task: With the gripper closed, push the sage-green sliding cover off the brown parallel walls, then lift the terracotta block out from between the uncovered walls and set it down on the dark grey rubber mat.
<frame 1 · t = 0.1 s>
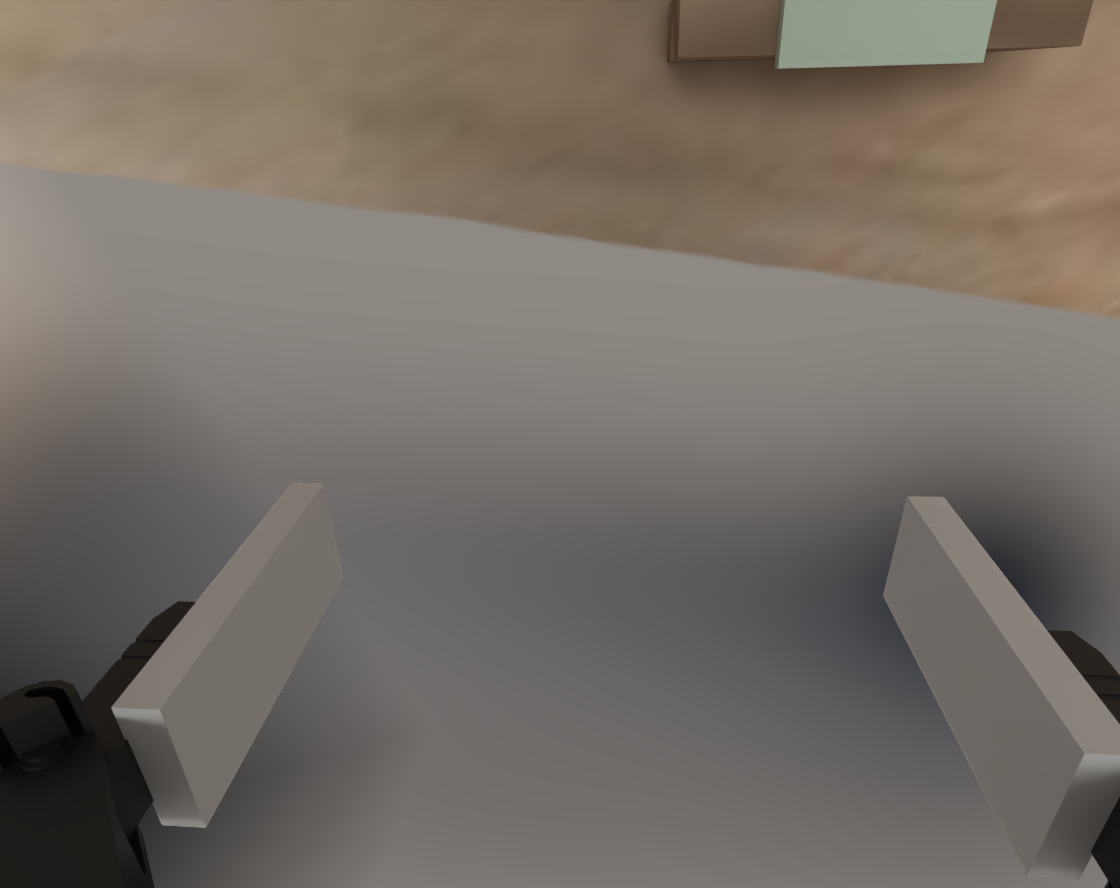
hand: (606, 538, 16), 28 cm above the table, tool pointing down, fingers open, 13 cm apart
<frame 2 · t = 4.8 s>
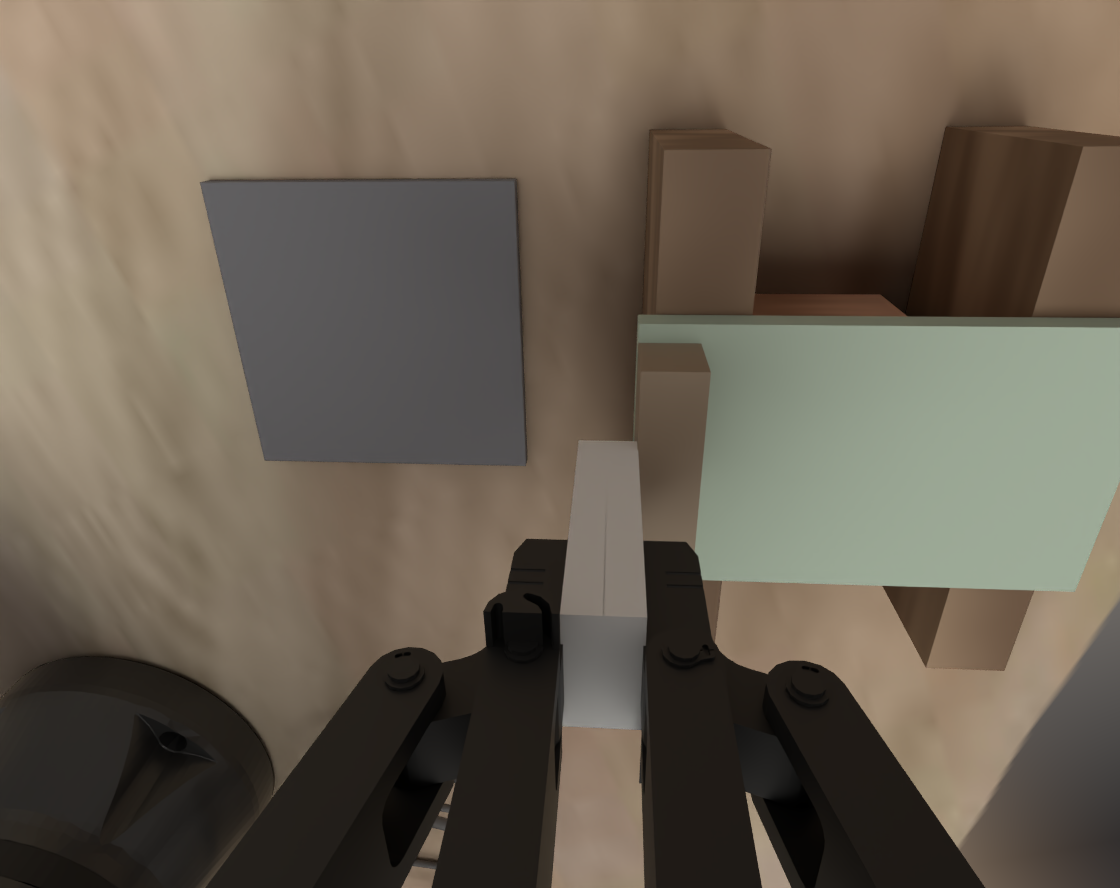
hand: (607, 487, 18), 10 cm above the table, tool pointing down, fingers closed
mat: (380, 330, 27), on the table
cover: (880, 478, 19), point 9 cm above the table, slide at 0.0 cm, touching gripper
geometric lantern: (410, 800, 40), on the table
brown parallel walls: (799, 359, 27), on the table
block: (799, 359, 27), on the table
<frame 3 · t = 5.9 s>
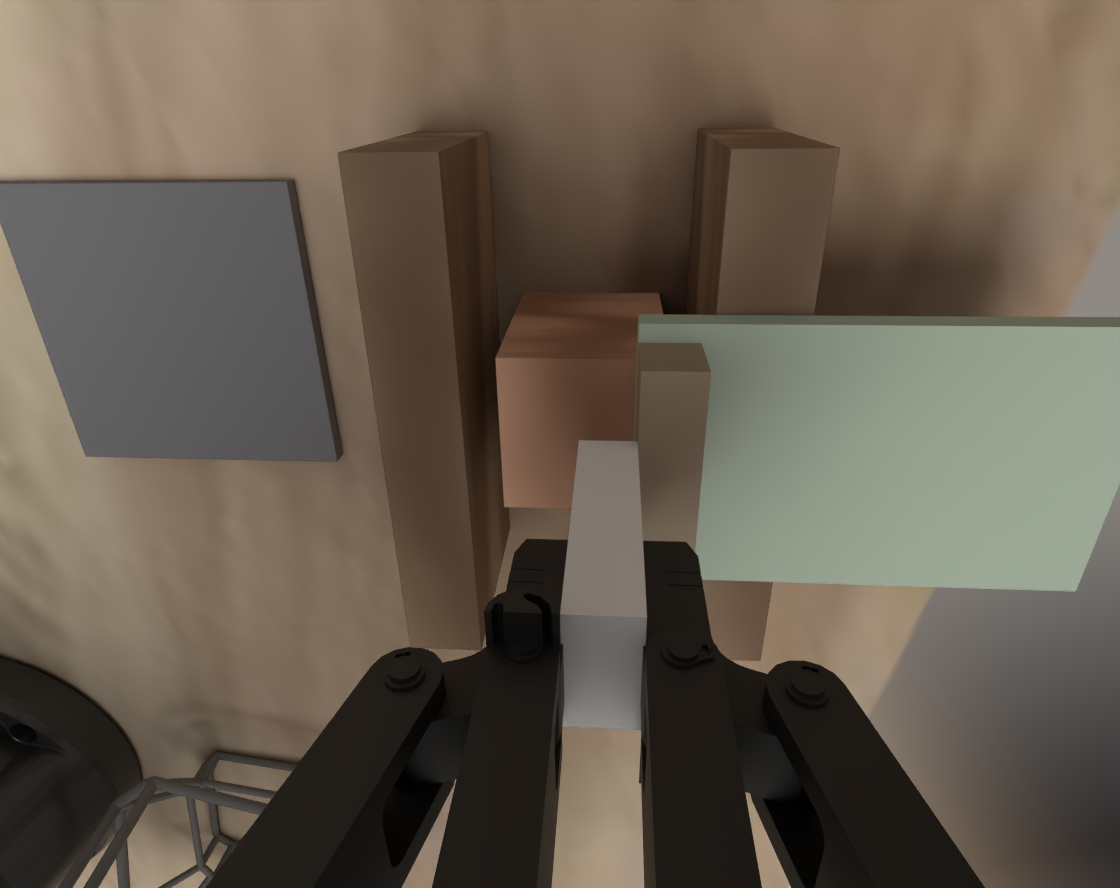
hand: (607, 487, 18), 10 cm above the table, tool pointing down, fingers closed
mat: (183, 328, 28), on the table
cover: (880, 478, 19), point 9 cm above the table, slide at 8.0 cm, touching gripper
geometric lantern: (277, 792, 41), on the table
brown parallel walls: (590, 357, 27), on the table
block: (590, 356, 27), on the table
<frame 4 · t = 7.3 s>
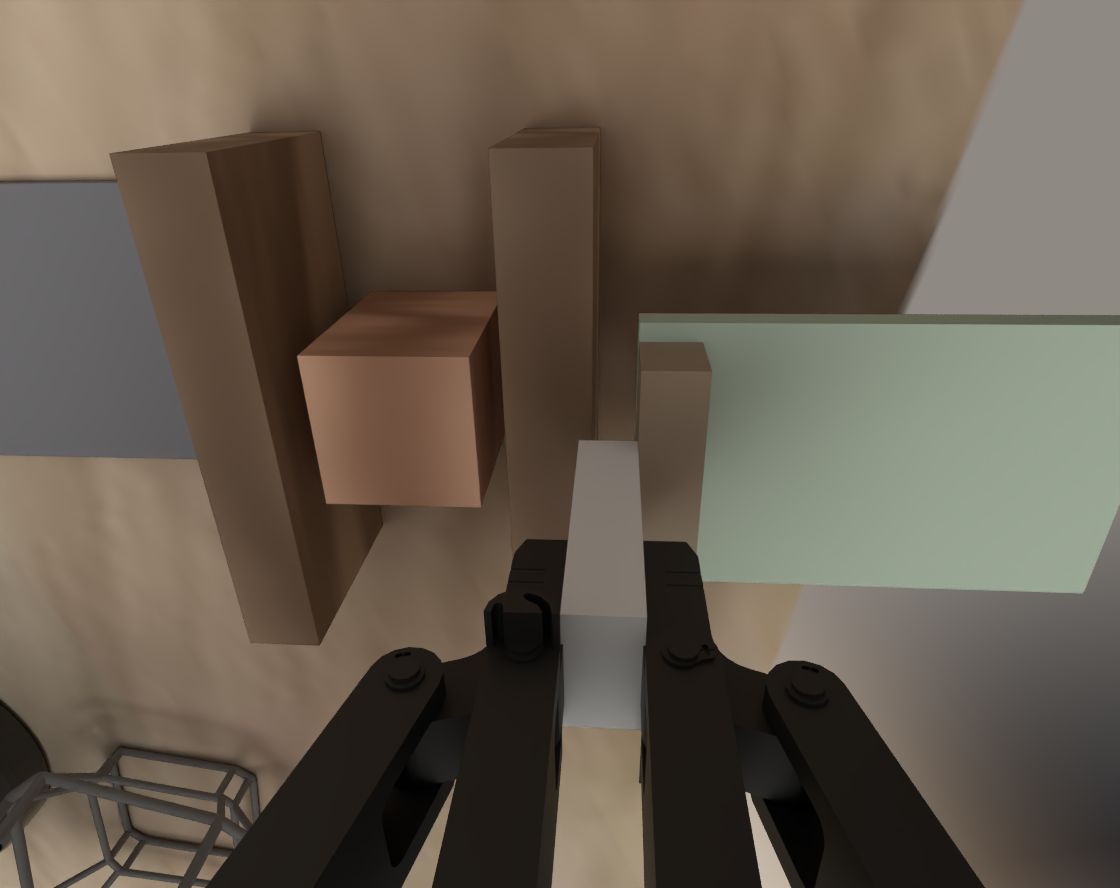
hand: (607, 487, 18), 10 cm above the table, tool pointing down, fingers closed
mat: (45, 328, 28), on the table
cover: (884, 478, 18), point 9 cm above the table, slide at 13.7 cm, touching gripper
geometric lantern: (184, 787, 41), on the table
brown parallel walls: (443, 355, 27), on the table
block: (444, 354, 27), on the table
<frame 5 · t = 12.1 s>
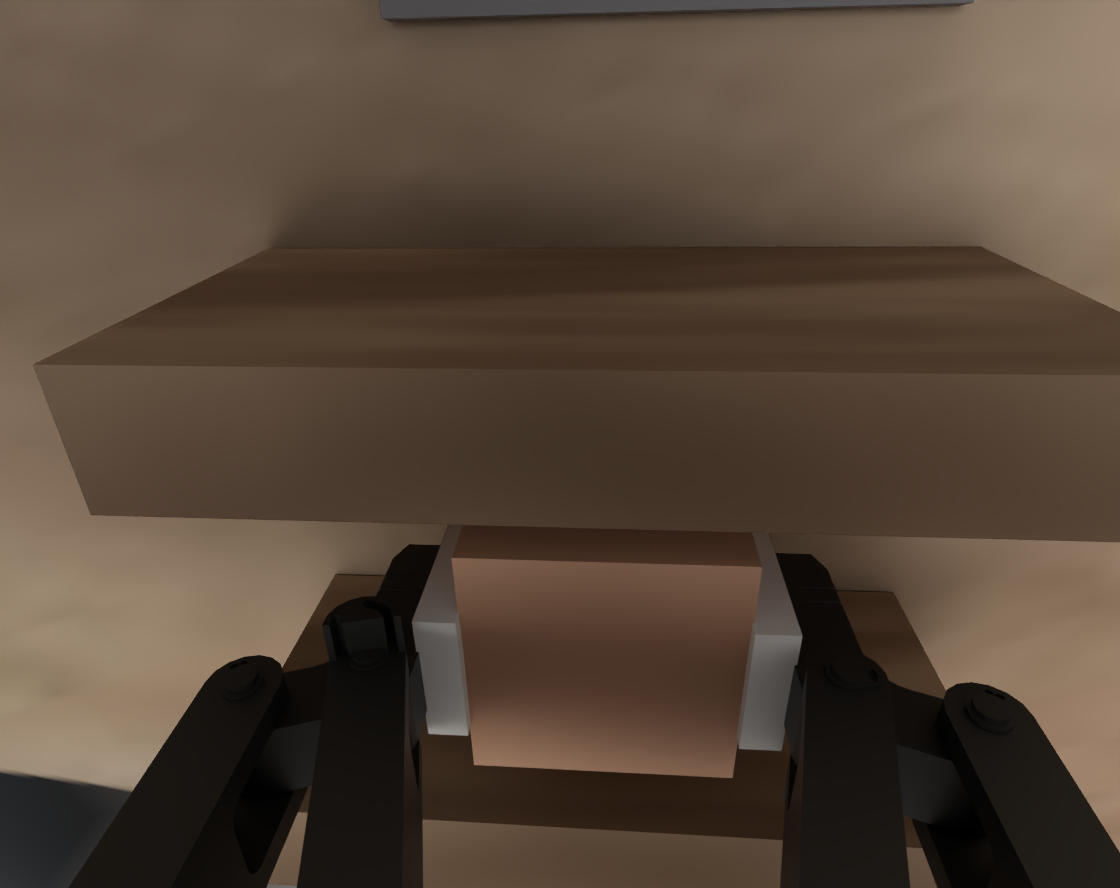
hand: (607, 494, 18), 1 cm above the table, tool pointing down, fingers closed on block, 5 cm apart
brown parallel walls: (607, 478, 19), on the table
block: (607, 478, 19), on the table, touching gripper
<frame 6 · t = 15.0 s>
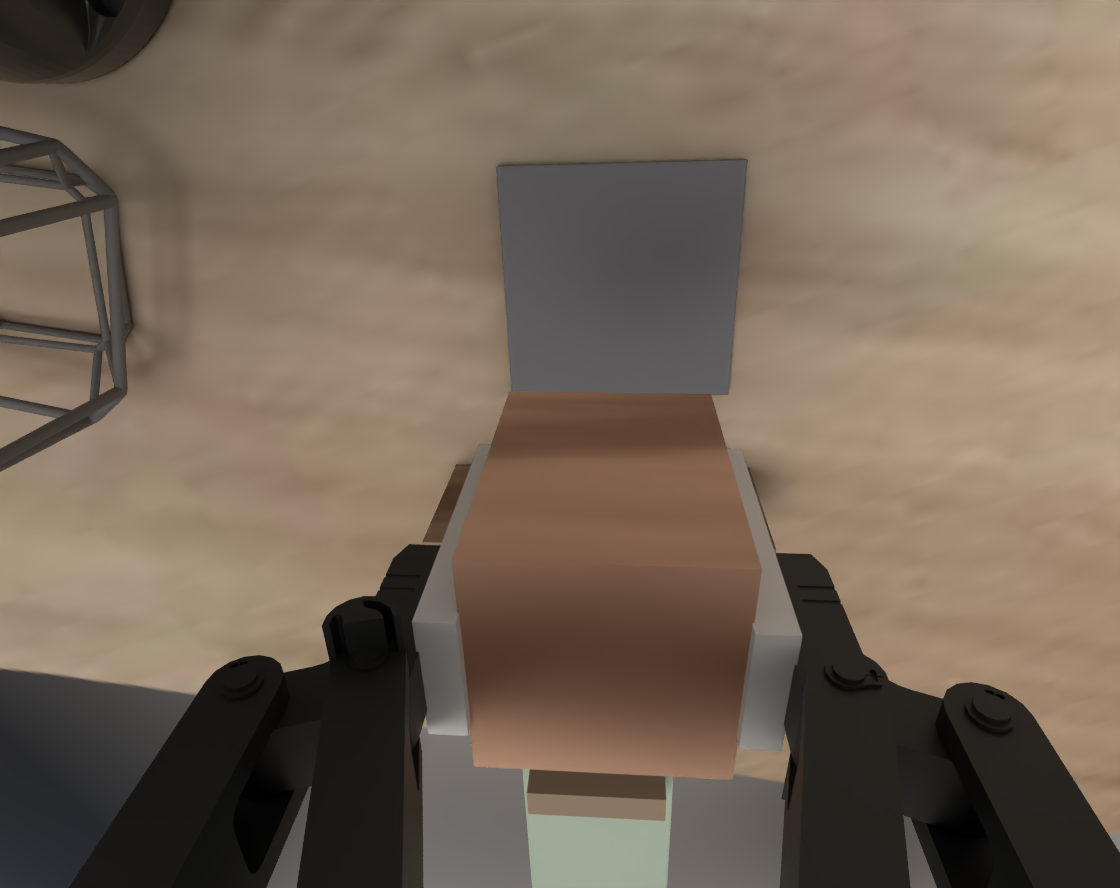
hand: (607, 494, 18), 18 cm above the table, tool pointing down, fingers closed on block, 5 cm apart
mat: (619, 284, 34), on the table
cover: (597, 851, 40), point 9 cm above the table, slide at 13.7 cm
geometric lantern: (64, 250, 36), on the table
brown parallel walls: (600, 556, 41), on the table
block: (607, 479, 19), point 18 cm above the table, touching gripper
when the fingers open (3 cm above the table, at t = 18.5 s): block drops 1 cm, resting on mat.
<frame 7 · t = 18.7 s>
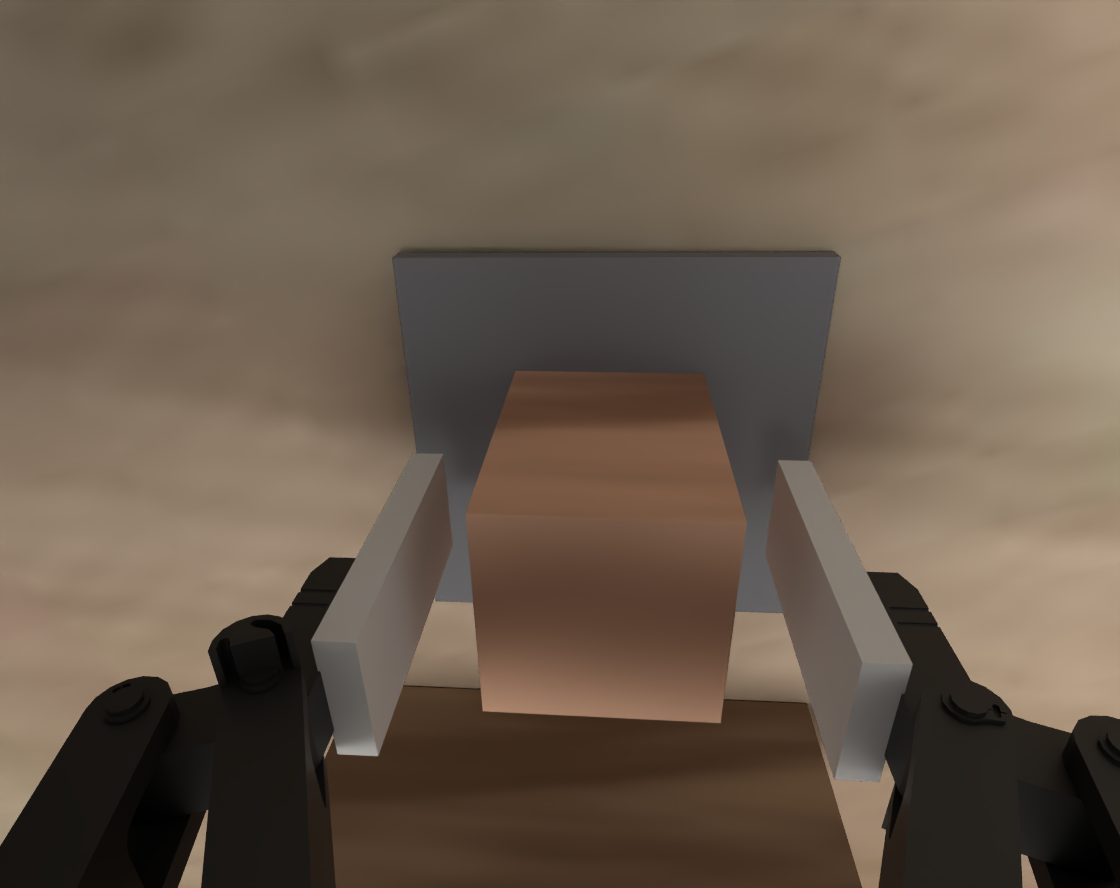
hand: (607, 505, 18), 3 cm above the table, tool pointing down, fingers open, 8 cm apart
mat: (608, 444, 20), on the table
brown parallel walls: (577, 803, 28), on the table
block: (607, 455, 20), point 1 cm above the table, touching mat
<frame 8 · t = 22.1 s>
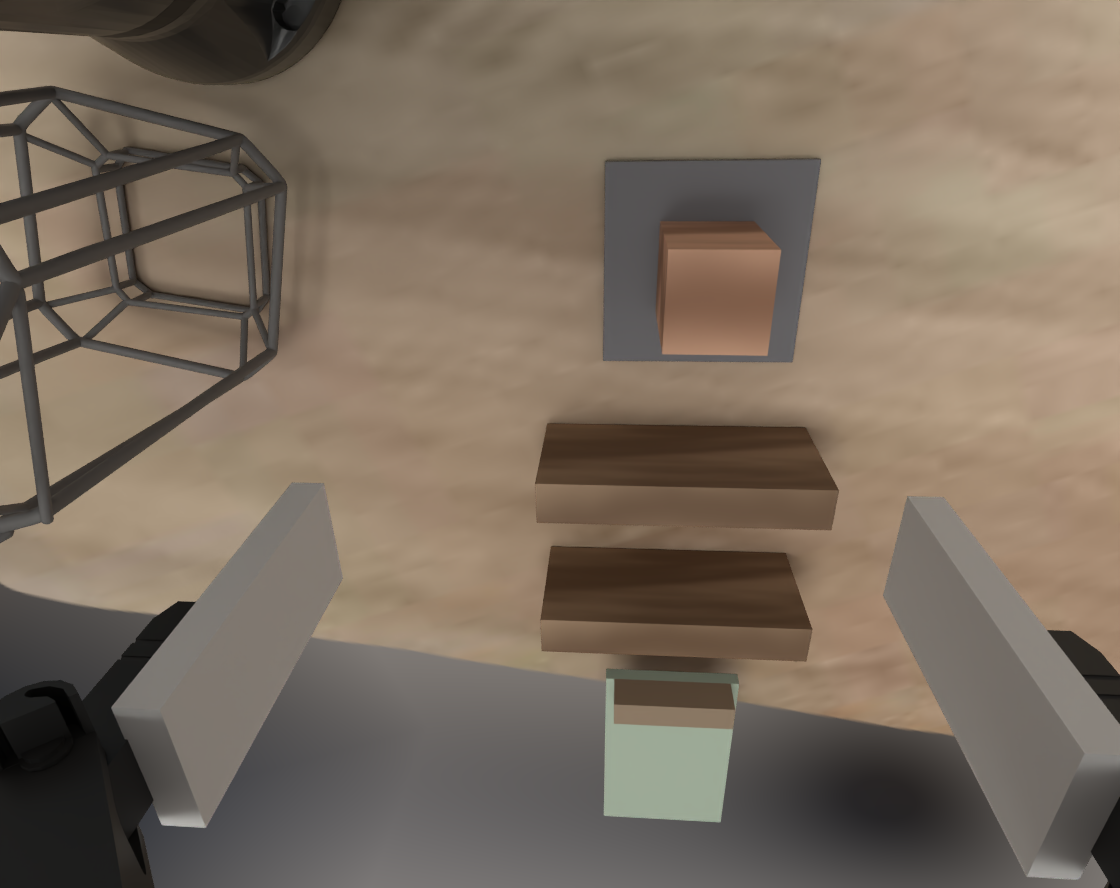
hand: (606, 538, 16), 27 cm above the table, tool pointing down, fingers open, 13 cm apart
mat: (702, 265, 40), on the table
cover: (667, 762, 45), point 9 cm above the table, slide at 13.7 cm
geometric lantern: (215, 230, 41), on the table
brown parallel walls: (669, 506, 47), on the table
block: (703, 268, 39), point 1 cm above the table, touching mat
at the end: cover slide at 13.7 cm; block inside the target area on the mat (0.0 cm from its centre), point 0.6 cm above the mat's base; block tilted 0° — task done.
